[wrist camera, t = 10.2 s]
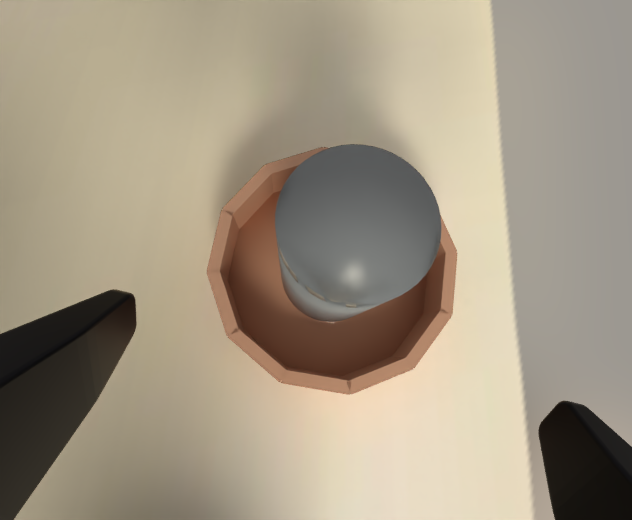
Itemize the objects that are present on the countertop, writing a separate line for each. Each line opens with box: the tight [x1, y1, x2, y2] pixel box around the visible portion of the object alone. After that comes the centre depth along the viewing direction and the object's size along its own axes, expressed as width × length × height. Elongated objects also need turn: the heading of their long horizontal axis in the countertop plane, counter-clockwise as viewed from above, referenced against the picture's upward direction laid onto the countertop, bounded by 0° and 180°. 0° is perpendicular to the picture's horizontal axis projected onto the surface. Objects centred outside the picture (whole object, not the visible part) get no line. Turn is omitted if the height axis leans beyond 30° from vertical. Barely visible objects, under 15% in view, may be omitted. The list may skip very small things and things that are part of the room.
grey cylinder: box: [275, 144, 442, 322], centre depth 17 cm, size 6×6×9 cm
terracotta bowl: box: [207, 147, 457, 395], centre depth 20 cm, size 12×12×4 cm
